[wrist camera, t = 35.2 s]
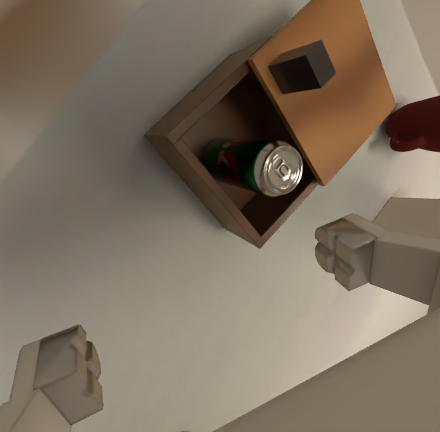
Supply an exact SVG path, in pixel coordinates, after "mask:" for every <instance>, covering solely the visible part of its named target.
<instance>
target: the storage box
mask: <svg viewBox="0 0 440 432" xmlns="http://www.w3.org/2000/svg"><path fill="white" fill-rule="evenodd" d="M271 37H272V36H271ZM271 37H269V38H266V39H264V40H262V41H260V42H257V43H255V44H253V45H251V46H248V47H246V48H244V49H242V50H239V51H237V52H235V53H233V54H230V55H229V56H228V57H227V58H226V59H225V60H224V61H223V62H222V63H221V64H220V65H218V66H217V67H216V68H215V69H214V70H213V71H212V72H211V73H210V74H209V75H208V76H207V77H205V78H204V79H203V80H202V81H201V82H200V83H199V84H198V85H197V86H196V87H195V88H194V89H192V90H191V91H190V92H189V93H188V94H187V95H186V96H185V97H184V98H183V99H182V100H181V101H180V102H178V103H177V104H176V105H175V106H174V107H173V108H172V109H171V110H170V111H169V112H168V113H167V114H165V115H164V116H163V117H162V118H161V119H160V120H159V121H158V122H157V123H156V124H155V125H154V126H152V127H151V128H150V129H149V130H148V131H147V132H146V133H145V134H144V137H145V138H146V139H147V140H148V141H149V142H150V143H151V144H152V146H153V147H154V148H155V149H156V150H157V151H158V152H159V154H160V155H161V156H162V157H163V158H164V159H165V160H166V162H167V163H168V164H169V165H170V166H171V167H172V168H173V169H174V171H175V172H176V173H177V174H178V175H179V176H180V177H181V179H182V180H183V181H184V182H185V183H186V184H187V185H188V187H189V188H190V189H191V190H192V191H193V192H194V193H195V194H196V196H197V197H198V198H199V199H200V200H201V201H202V202H203V204H204V205H205V206H206V207H207V208H208V209H209V210H210V212H211V213H212V214H213V215H214V216H215V217H216V218H217V219H218V221H219V222H220V223H221V224H222V225H223V226H224V227H225V229H227V230H228V231H230V232H232V233H234V234H235V235H237V236H239V237H241V238H242V239H244V240H246V241H247V242H249V243H251V244H253V245H254V246H256V247H258V248H261V247H262V246H263V245H264V244H265V243H266V241H267V240H268V239H269V238H270V237H271V236H272V235H273V234H274V233H275V231H276V230H277V229H278V228H279V227H280V226H281V225H282V224H283V223H284V222H285V220H286V219H287V218H288V217H289V216H290V215H291V214H292V213H293V212H294V210H295V209H296V208H297V207H298V206H299V205H300V204H301V203H302V202H303V200H304V199H305V198H306V197H307V196H308V195H309V194H310V193H311V192H312V190H313V189H314V188H315V187H316V186H317V185H318V184H319V183H318V181H317V180H316V178H315V176H314V175H313V173H312V171H311V169H310V168H309V166H308V164H307V162H306V161H305V159H304V157H303V156H302V154H301V152H300V150H299V149H298V147H297V145H296V144H295V142H294V140H293V138H292V137H291V135H290V133H289V131H288V130H287V128H286V126H285V125H284V123H283V121H282V119H281V118H280V116H279V114H278V112H277V111H276V109H275V107H274V106H273V104H272V102H271V100H270V99H269V97H268V95H267V94H266V92H265V90H264V88H263V87H262V85H261V83H260V81H259V80H258V78H257V76H256V75H255V73H254V71H253V69H252V68H251V66H250V64H249V63H248V59H249V58H250V57H251V56H252V55H253V54H254V53H256V52H257V51H258V50H259V49H260V48H261V47H262V46H263V45H264V44H265V43H266V42H267V41H268V40H269V39H270V38H271ZM221 138H229V139H254V140H279V141H284V142H286V143H288V144H289V145H290V146H291V147H293V148H295V149H296V150H297V151H298V152H299V154H300V156H301V159H302V163H303V171H302V176H301V179H300V181H299V183H298V184H297V186H296V187H295V188H294V189H293V190H292V191H291V192H289V193H287V194H283V195H280V196H276V197H270V196H266V195H263V194H260V193H256V192H253V191H250V190H247V189H243V188H240V187H237V186H233V185H230V184H227V183H224V182H220V181H217V180H215V179H214V178H213V177H212V175H211V174H210V173H209V172H208V171H207V169H206V168H205V166H204V155H205V152H206V150H207V148H208V146H209V145H210V144H211V143H212V142H213V141H215V140H217V139H221Z"/></svg>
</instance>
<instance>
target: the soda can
mask: <svg viewBox="0 0 440 432" xmlns="http://www.w3.org/2000/svg"><path fill="white" fill-rule="evenodd" d="M204 166H205V168H206V169H207V171H208V172H209V173H210V174H211V175H212V177H213V178H214V179H215V180H217V181H220V182H224V183H227V184H230V185H233V186H237V187H240V188H243V189H247V190H250V191H253V192H256V193H260V194H263V195H266V196H270V197H276V196H280V195H283V194H287V193H289V192H291V191H292V190H293V189H294V188H295V187H296V186H297V184H298V183H299V181H300V179H301V176H302V171H303V163H302V159H301V156H300V154H299V152H298V151H297V150H296V149H295V148H293V147H291V146H290V145H289V144H288V143H286V142H284V141H279V140H254V139H229V138H221V139H217V140H215V141H213V142H212V143H211V144H210V145H209V146H208V148H207V150H206V152H205V155H204Z"/></svg>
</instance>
